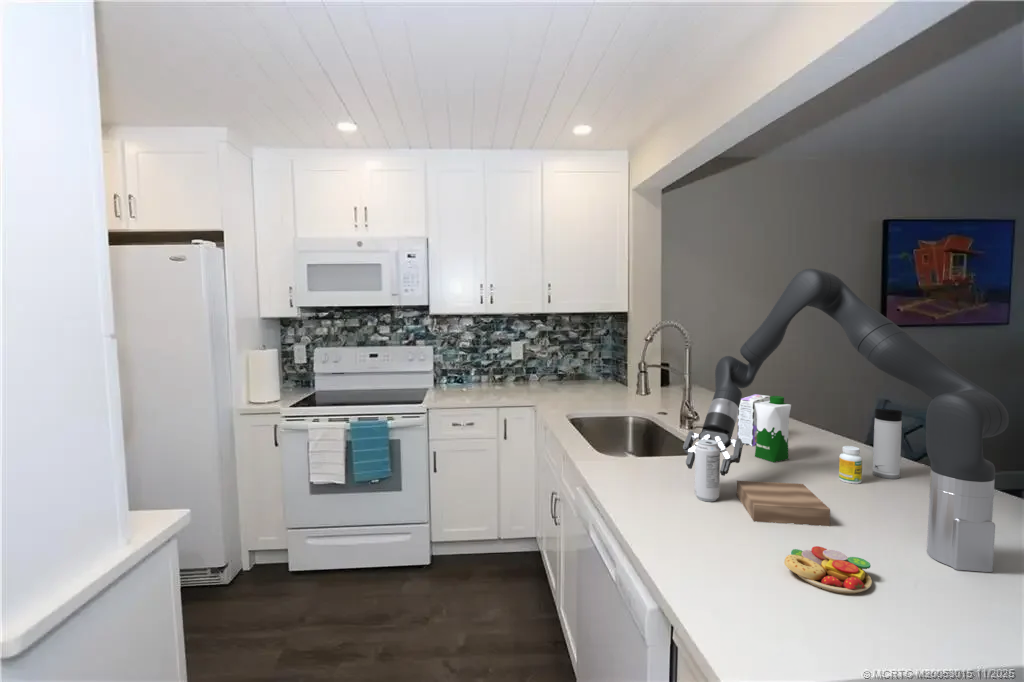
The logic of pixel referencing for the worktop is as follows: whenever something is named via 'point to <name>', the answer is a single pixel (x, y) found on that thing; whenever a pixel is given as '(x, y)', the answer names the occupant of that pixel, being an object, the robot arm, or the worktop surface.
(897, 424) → the travel mug
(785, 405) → the milk carton
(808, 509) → the walnut base
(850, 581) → the toy food set
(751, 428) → the candy box
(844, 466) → the supplement bottle
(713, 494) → the energy drink can
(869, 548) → the worktop surface
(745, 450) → the worktop surface
